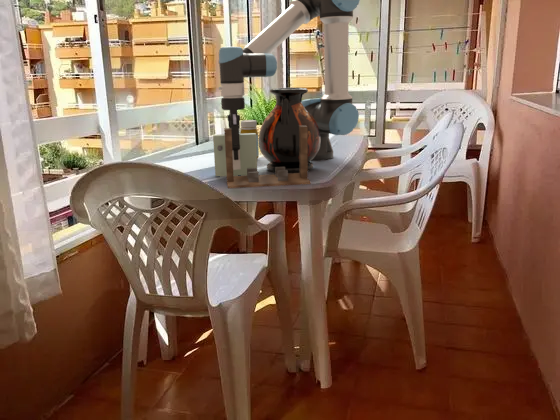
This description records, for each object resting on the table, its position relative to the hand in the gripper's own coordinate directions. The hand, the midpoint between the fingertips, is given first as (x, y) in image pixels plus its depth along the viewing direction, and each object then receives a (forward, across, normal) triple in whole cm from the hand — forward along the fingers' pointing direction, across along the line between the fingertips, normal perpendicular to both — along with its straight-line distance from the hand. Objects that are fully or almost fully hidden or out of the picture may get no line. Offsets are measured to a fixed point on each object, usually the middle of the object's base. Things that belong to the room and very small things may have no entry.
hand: (235, 167), depth 166 cm
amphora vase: (+3, -6, +19) cm, 20 cm away
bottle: (+3, -31, +7) cm, 32 cm away
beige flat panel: (+3, 0, 0) cm, 3 cm away
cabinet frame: (+3, +14, +9) cm, 17 cm away
